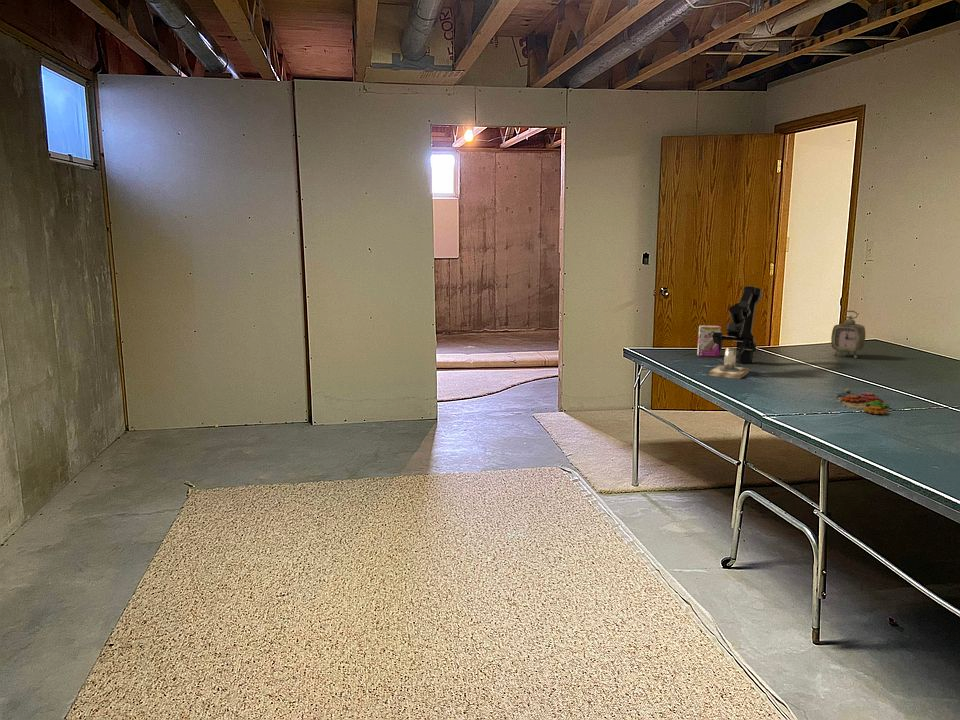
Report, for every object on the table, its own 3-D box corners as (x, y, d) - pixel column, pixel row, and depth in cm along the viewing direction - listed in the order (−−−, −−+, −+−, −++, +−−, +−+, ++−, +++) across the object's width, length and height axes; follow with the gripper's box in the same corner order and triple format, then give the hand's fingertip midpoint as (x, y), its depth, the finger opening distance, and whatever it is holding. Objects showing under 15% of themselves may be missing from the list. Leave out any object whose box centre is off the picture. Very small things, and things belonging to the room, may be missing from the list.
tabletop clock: (829, 356, 377) (833, 310, 372) (836, 353, 383) (840, 308, 378) (858, 359, 366) (862, 312, 362) (864, 357, 372) (869, 311, 368)
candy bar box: (698, 356, 376) (700, 326, 373) (696, 354, 381) (698, 325, 378) (719, 356, 375) (721, 326, 372) (717, 355, 380) (719, 325, 377)
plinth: (748, 372, 335) (748, 367, 334) (739, 379, 320) (740, 373, 320) (718, 369, 342) (719, 364, 342) (708, 375, 328) (709, 370, 327)
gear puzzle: (898, 418, 256) (900, 407, 255) (850, 415, 260) (851, 404, 259) (875, 398, 285) (876, 388, 284) (832, 396, 289) (833, 386, 288)
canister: (727, 367, 334) (728, 346, 332) (736, 368, 331) (738, 348, 329) (721, 368, 331) (722, 348, 329) (731, 370, 327) (732, 349, 326)
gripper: (714, 315, 334) (706, 341, 327) (755, 317, 324) (748, 344, 317) (717, 329, 342) (710, 355, 335) (757, 332, 332) (750, 358, 325)
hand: (729, 353), depth 328 cm, fingers open, 9 cm apart
